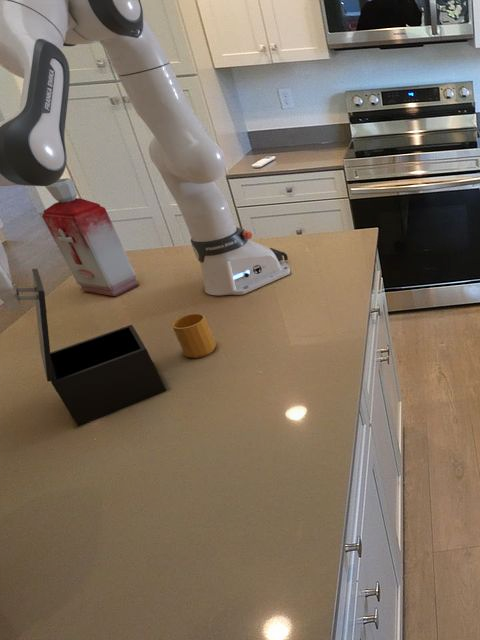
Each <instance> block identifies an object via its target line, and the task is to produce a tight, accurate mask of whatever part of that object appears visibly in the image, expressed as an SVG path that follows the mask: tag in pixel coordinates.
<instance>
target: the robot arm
mask: <svg viewBox="0 0 480 640" xmlns="http://www.w3.org/2000/svg"><path fill="white" fill-rule="evenodd" d="M97 43H100V44H101V46H103V47H104V48H105V50H106V53H107V56H108V58H109V60H110V63H111V66H112V68H113V70H114V71H115V74H116V75H117V78H118V79H119V82H120V84H121V85H122V88H123V89H124V92H125V93H126V95H127V97H128V99H129V101H130V103H131V105H132V107H133V109H134V111H135V113H136V114H137V115H138V117H139V118H140V119H141V120H142V121H143V122H144V124H145V125H146V126H147V128H148V129H149V131H150V132H151V133H152V134H153V137H152V139H151V140H150V142H149V144H148V156H149V158H150V160H151V162H152V163H153V165H154V166H155V167H156V169H157V170H158V172H159V174H160V176H161V178H162V181H163V182H164V183H165V186H166V187H167V189H168V191H169V193H170V195H171V196H172V197H173V199H174V201H175V203H176V205H177V206H178V208H179V211H180V213H181V215H182V217H183V220H184V223H185V225H186V228H187V231H188V233H189V235H190V243H191V247H192V250H193V252H194V256H196V257H195V258H196V259H197V261H198V262H199V264H200V269H201V272H202V277H203V284H204V292H205V293H206V294H207V295H210V296H229V295H235V296H242V295H245V294H248V293H250V292H252V291H254V290H257V289H259V288H262V287H264V286H266V285H268V284H270V283H273V282H275V281H278V280H279V279H282V278H284V277H286V276H288V275H290V274H291V268H290V266H289V264H288V263H287V262H285V261H288V260H289V258H288V254H287V253H286V252H284V251H281V250H278V249H276V248H272V247H268V246H266V245H263V244H261V243H258V242H256V241H253V240H252V238H253V233H252V232H251V231H249V230H248V229H244V228H242V227H239V226H236V223H235V219H234V217H233V215H232V212H231V209H230V206H229V203H228V200H227V198H226V197H225V195H224V194H223V193H222V191H221V190H220V188H219V186H218V185H217V183H216V181H218V180H219V179H221V177H223V175H224V174H225V171H226V169H227V159H226V155H225V152H224V151H223V150H222V148H221V147H220V146H219V145H218V144H217V143H216V142H215V140H214V139H213V138H212V136H211V135H210V133H209V132H208V129H206V127H205V125H204V123H203V122H202V121H201V119H200V118H199V116H198V114H197V113H196V111H195V110H194V108H193V107H192V105H191V104H190V102H189V100H188V99H187V95H186V94H185V92H184V90H183V88H182V86H181V84H180V81H179V80H178V78H177V75H176V73H175V70H174V69H173V66H172V64H171V62H170V60H169V58H168V56H167V53H166V51H165V49H164V48H163V46H162V44H161V42H160V40H159V39H158V37H157V35H156V34H155V32H154V30H153V29H152V27H151V26H150V25H149V23H148V21H147V20H146V18H144V9H143V5H142V3H141V0H0V66H1V67H2V68H3V69H5V70H7V71H8V72H9V73H11V74H13V75H14V76H16V77H18V78H21V79H23V83H22V90H21V95H20V103H19V109H18V111H17V112H16V113H15V114H13V115H12V116H10V117H9V118H6V119H4V120H1V121H0V187H11V186H13V187H14V186H24V187H25V186H27V187H29V186H30V187H45V186H48V185H52V184H54V183H55V182H57V181H58V180H59V179H62V178H61V177H62V176H63V175H64V173H65V170H66V168H67V148H66V141H65V132H66V122H67V121H66V120H67V113H68V102H69V95H70V94H69V93H70V79H71V73H70V65H69V62H68V59H67V56H66V55H65V54H64V53H63V47H74V46H78V45H91V44H97ZM4 226H5V225H4V222H3V220H2V218H0V230H2V228H4ZM1 238H2V237H1V235H0V300H1V301H2V302H3V304H4V306H5V307H6V309H8V310H9V311H12V310H16V309H19V308H20V307H21V306H22V305H21V301H20V300H18V298H17V297H16V295H15V294H14V292H13V290H12V288H13V285H15V283H14V282H13V279H12V275H11V269H10V266H9V259H8V255H7V252H6V250H5V247H4V245H3V243H2V240H1Z"/></svg>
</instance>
